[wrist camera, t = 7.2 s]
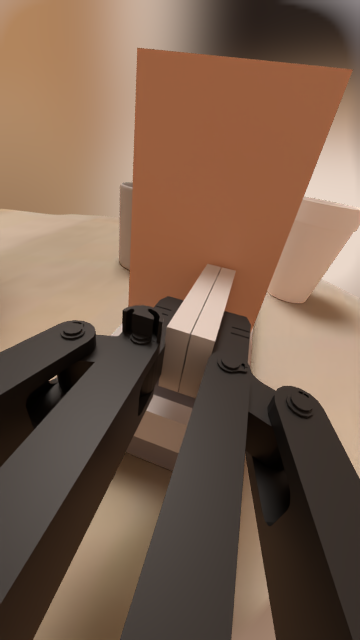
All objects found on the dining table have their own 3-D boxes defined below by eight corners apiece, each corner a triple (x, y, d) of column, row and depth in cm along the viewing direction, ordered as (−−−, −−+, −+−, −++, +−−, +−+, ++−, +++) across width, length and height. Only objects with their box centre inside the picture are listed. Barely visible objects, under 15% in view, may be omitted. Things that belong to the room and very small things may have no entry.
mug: (181, 271, 38) (193, 196, 32) (131, 276, 34) (134, 190, 28) (148, 246, 46) (153, 182, 40) (104, 248, 42) (103, 176, 36)
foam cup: (306, 316, 32) (361, 211, 25) (245, 289, 36) (276, 193, 29) (323, 296, 38) (370, 209, 31) (269, 275, 43) (300, 195, 36)
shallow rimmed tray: (226, 492, 13) (252, 449, 11) (67, 429, 15) (57, 378, 12) (248, 299, 34) (259, 269, 31) (181, 281, 35) (185, 251, 33)
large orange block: (230, 388, 16) (357, 63, 8) (123, 353, 18) (131, 42, 9) (238, 338, 21) (320, 107, 13) (154, 314, 23) (177, 89, 14)
